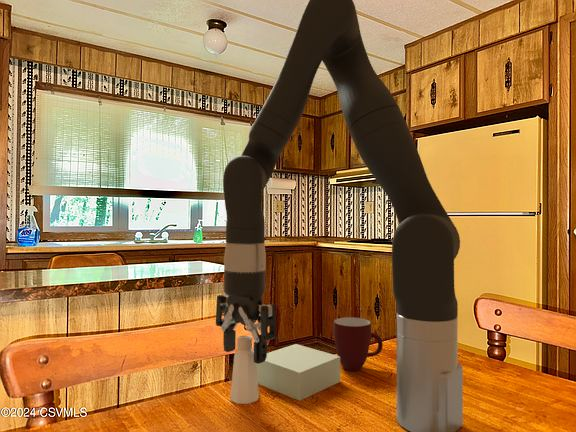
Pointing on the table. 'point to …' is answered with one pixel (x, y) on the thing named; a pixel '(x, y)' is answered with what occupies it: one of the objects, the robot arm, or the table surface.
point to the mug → (354, 341)
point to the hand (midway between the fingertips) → (244, 356)
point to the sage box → (298, 371)
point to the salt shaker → (244, 373)
